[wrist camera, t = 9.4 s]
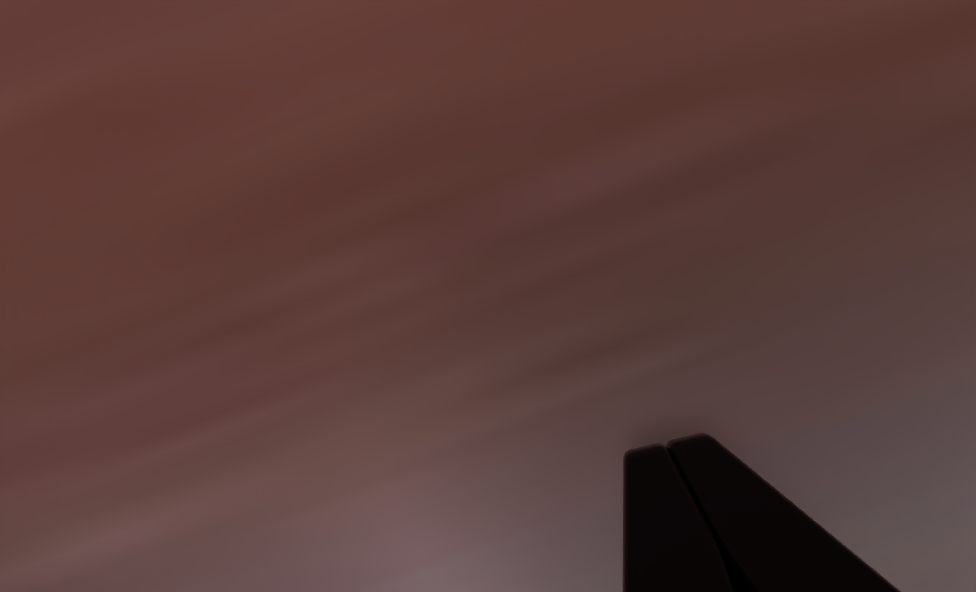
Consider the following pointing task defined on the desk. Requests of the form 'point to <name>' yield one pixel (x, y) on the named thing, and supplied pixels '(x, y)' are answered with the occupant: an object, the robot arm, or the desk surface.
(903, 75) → the desk surface
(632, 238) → the desk surface
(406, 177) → the desk surface
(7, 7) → the desk surface
